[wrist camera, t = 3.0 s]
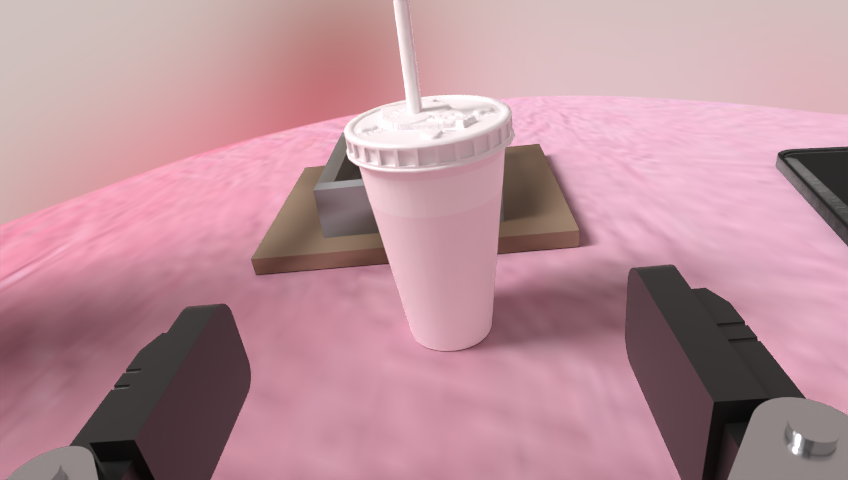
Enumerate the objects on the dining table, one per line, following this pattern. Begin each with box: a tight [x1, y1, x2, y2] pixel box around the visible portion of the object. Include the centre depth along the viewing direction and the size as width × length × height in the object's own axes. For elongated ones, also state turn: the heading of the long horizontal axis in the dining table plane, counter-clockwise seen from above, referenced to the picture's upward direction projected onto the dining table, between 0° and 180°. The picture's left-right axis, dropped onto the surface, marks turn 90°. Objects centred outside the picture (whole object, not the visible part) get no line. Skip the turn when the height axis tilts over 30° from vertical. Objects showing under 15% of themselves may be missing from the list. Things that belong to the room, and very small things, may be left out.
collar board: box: [251, 132, 579, 275], centre depth 36 cm, size 18×14×4 cm
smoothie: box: [344, 0, 515, 351], centre depth 22 cm, size 6×6×14 cm
